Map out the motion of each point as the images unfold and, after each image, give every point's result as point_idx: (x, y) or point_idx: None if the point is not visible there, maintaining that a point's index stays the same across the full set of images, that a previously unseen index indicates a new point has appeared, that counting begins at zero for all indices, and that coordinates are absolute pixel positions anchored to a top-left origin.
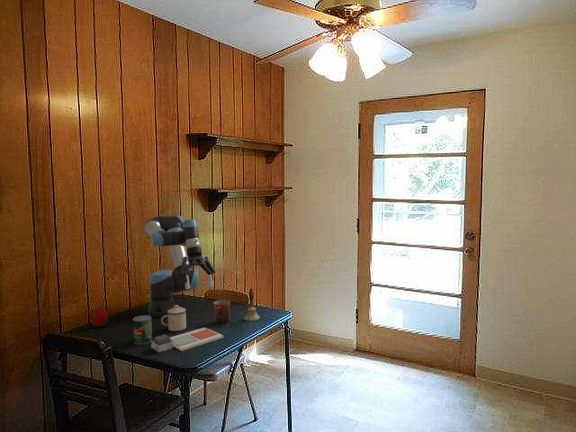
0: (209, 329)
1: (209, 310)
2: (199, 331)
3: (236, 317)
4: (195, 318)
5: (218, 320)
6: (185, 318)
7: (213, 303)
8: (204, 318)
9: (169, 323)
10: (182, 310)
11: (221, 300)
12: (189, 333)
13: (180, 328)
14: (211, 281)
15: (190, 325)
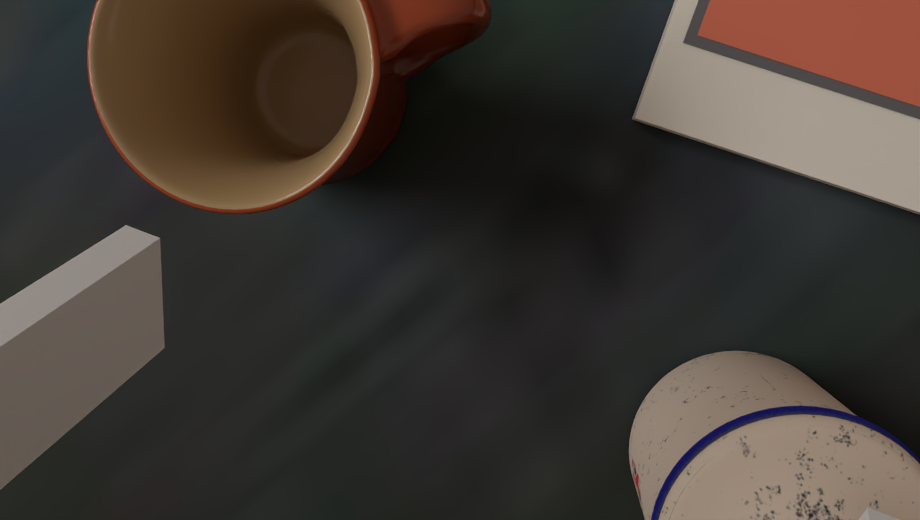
0: (675, 11)
1: (67, 510)
2: (791, 74)
3: None
4: (366, 478)
5: (404, 81)
6: (718, 390)
7: (340, 161)
8: (320, 379)
9: None
10: (804, 446)
11: (132, 155)
12: (893, 147)
13: (791, 367)
14: (42, 313)
15: (588, 371)
